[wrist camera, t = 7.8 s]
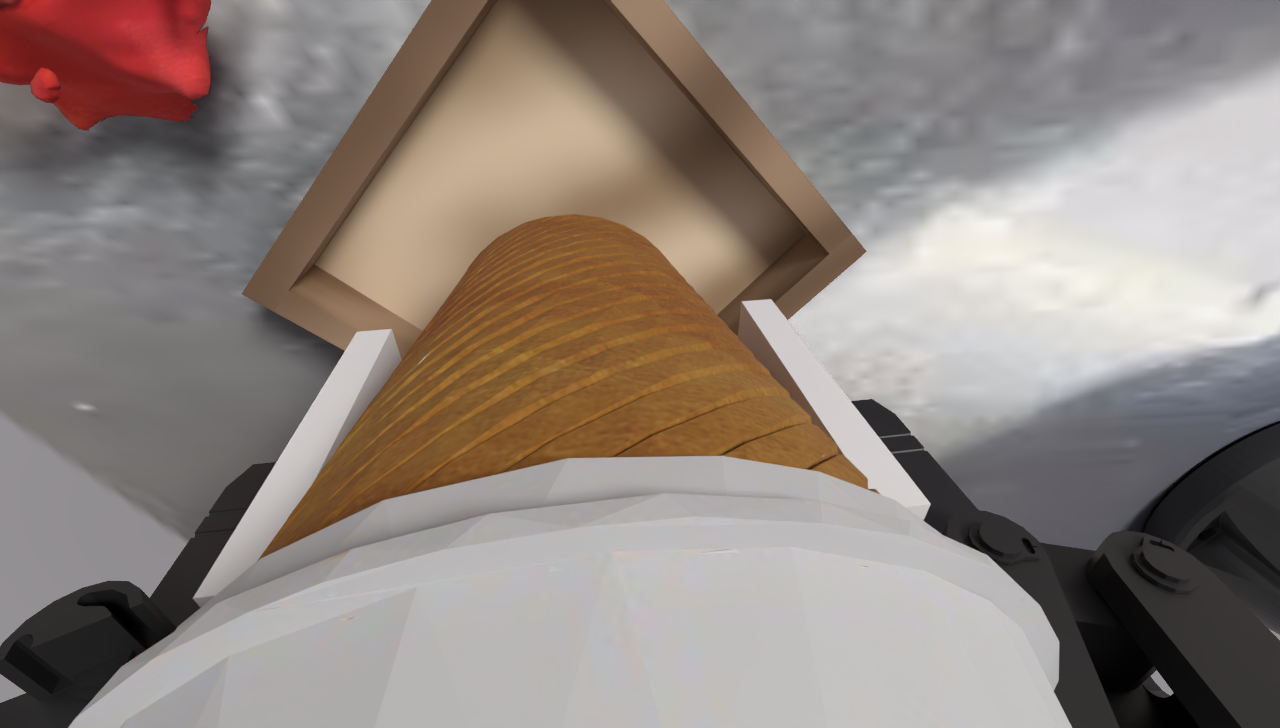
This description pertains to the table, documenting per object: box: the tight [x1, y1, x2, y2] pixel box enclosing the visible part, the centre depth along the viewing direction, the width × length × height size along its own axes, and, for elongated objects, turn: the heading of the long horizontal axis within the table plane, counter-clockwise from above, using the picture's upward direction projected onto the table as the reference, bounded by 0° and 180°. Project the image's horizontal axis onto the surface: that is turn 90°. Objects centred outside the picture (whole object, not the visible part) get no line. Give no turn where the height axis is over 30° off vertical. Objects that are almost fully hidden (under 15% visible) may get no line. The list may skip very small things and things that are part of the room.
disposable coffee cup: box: [68, 214, 1072, 728], centre depth 9 cm, size 10×10×12 cm
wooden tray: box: [242, 0, 867, 360], centre depth 19 cm, size 15×15×3 cm
